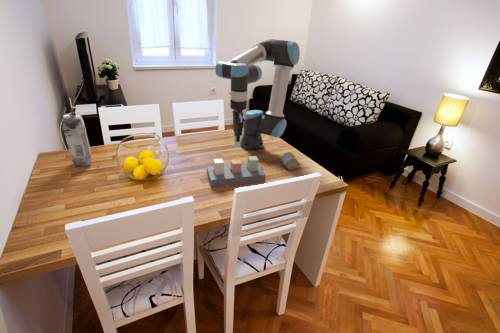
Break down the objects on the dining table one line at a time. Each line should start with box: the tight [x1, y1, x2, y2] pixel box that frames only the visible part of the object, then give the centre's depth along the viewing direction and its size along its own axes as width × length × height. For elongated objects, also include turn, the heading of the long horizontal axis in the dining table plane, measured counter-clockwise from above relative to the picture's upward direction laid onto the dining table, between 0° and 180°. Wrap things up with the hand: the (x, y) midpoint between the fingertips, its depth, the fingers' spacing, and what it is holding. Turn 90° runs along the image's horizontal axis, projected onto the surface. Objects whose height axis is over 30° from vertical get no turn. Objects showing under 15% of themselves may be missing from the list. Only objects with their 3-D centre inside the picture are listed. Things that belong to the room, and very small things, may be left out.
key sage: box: [247, 155, 259, 172], centre depth 145 cm, size 4×4×7 cm
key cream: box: [213, 158, 225, 175], centre depth 140 cm, size 4×4×7 cm
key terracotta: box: [230, 159, 242, 174], centre depth 143 cm, size 4×4×7 cm
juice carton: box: [61, 113, 92, 168], centre depth 143 cm, size 9×10×27 cm
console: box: [206, 162, 266, 188], centre depth 145 cm, size 14×28×4 cm, turn 106°
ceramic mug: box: [281, 151, 302, 171], centre depth 158 cm, size 11×8×8 cm
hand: (237, 146), depth 138 cm, fingers closed
